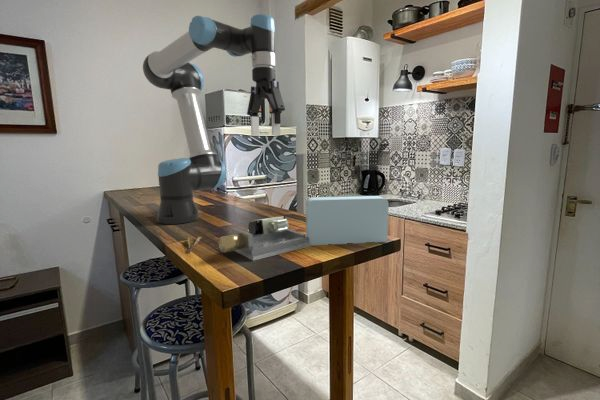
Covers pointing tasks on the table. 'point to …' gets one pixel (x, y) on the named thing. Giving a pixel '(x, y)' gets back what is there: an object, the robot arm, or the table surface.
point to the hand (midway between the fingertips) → (265, 135)
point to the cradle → (263, 243)
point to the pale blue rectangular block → (346, 220)
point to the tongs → (193, 244)
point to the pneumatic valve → (268, 225)
